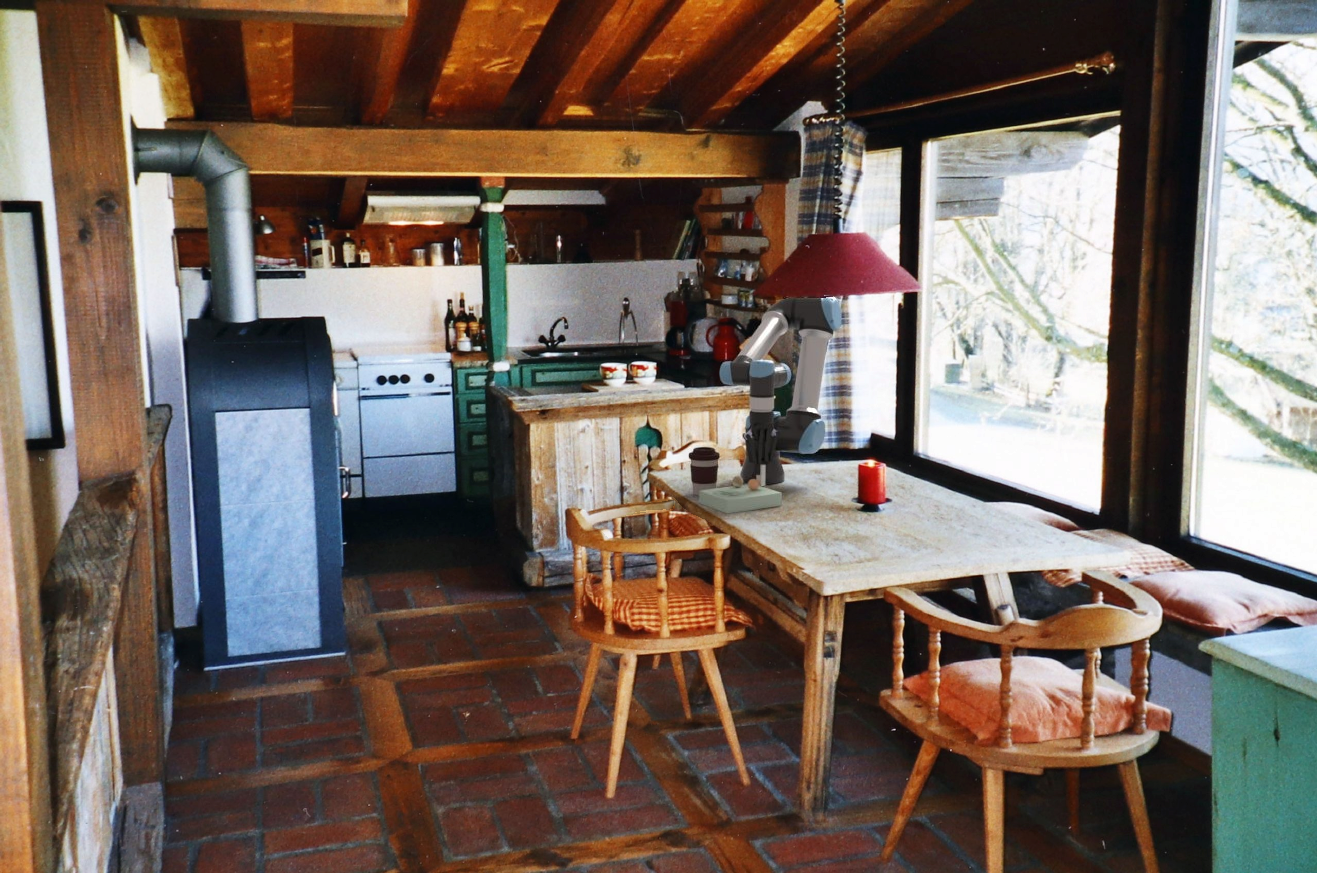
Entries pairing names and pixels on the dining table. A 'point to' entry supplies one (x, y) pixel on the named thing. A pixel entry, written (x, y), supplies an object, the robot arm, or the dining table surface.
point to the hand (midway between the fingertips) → (760, 484)
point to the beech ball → (737, 481)
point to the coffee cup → (703, 468)
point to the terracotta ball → (753, 484)
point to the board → (740, 498)
